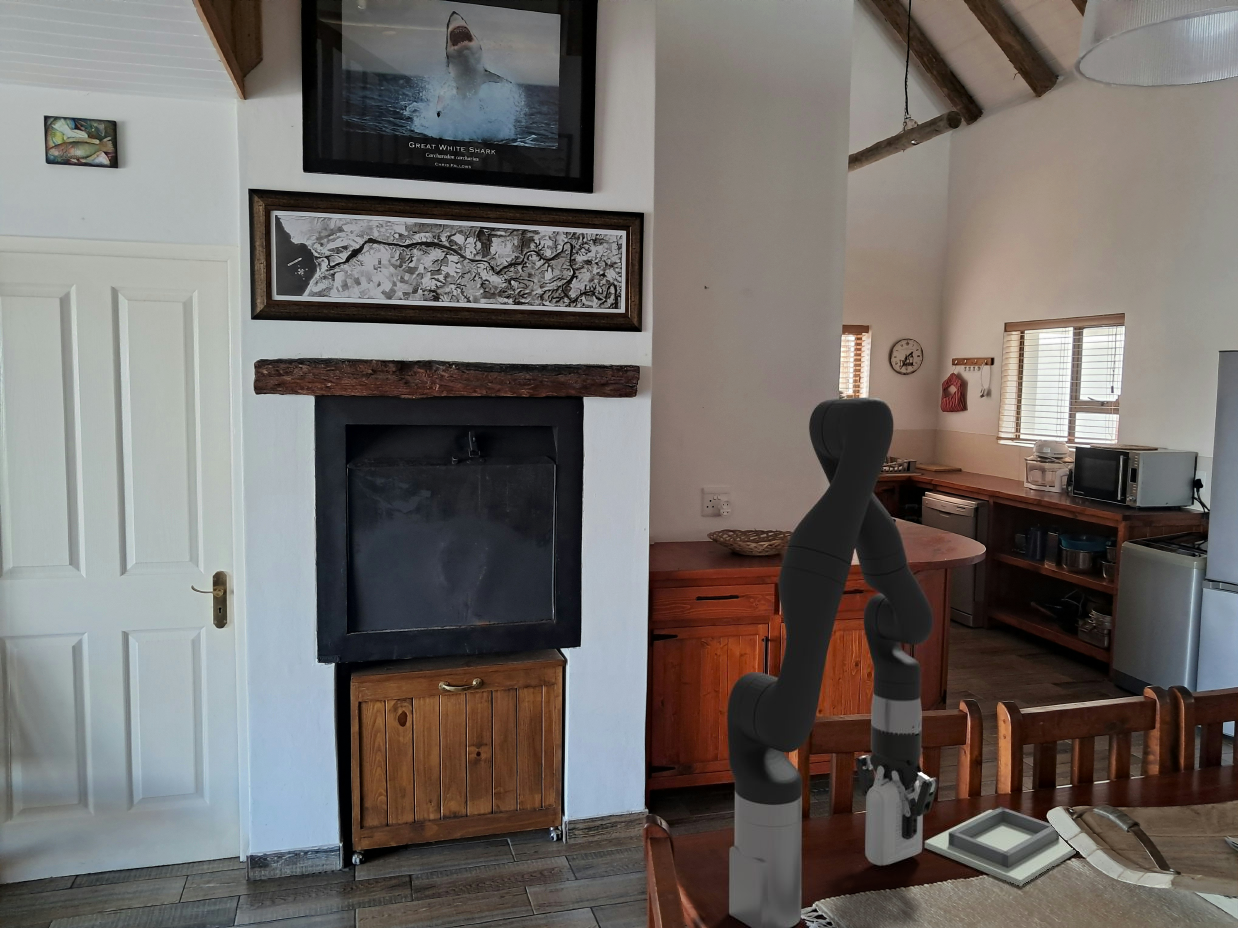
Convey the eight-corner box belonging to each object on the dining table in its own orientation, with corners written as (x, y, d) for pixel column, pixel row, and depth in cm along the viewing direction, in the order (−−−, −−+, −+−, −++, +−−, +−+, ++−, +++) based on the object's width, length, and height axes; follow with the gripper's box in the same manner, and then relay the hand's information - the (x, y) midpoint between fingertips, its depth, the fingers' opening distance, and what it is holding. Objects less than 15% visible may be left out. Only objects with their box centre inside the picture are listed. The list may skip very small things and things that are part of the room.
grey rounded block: (904, 842, 144) (905, 766, 143) (926, 852, 140) (927, 775, 140) (860, 858, 138) (861, 779, 138) (882, 869, 134) (884, 788, 134)
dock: (1020, 886, 132) (1020, 866, 131) (924, 847, 144) (924, 829, 144) (1083, 847, 144) (1083, 829, 144) (990, 814, 156) (990, 798, 156)
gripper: (843, 716, 142) (842, 822, 142) (922, 740, 131) (920, 855, 131) (872, 708, 146) (870, 810, 147) (951, 730, 135) (949, 841, 136)
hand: (894, 831), depth 139 cm, fingers closed on grey rounded block, 4 cm apart
